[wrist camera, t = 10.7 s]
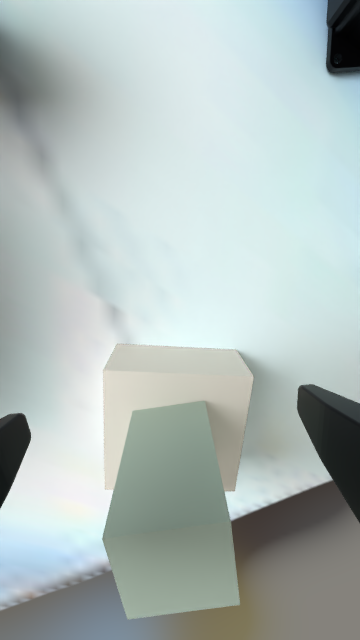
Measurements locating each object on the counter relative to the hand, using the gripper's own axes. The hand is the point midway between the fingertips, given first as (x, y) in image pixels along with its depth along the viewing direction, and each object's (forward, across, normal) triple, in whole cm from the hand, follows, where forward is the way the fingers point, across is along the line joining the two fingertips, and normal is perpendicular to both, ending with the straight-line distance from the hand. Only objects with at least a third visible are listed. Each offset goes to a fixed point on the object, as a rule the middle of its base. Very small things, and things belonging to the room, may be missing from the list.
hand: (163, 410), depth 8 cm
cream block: (+13, 0, +8) cm, 15 cm away
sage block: (+8, 0, +8) cm, 11 cm away
